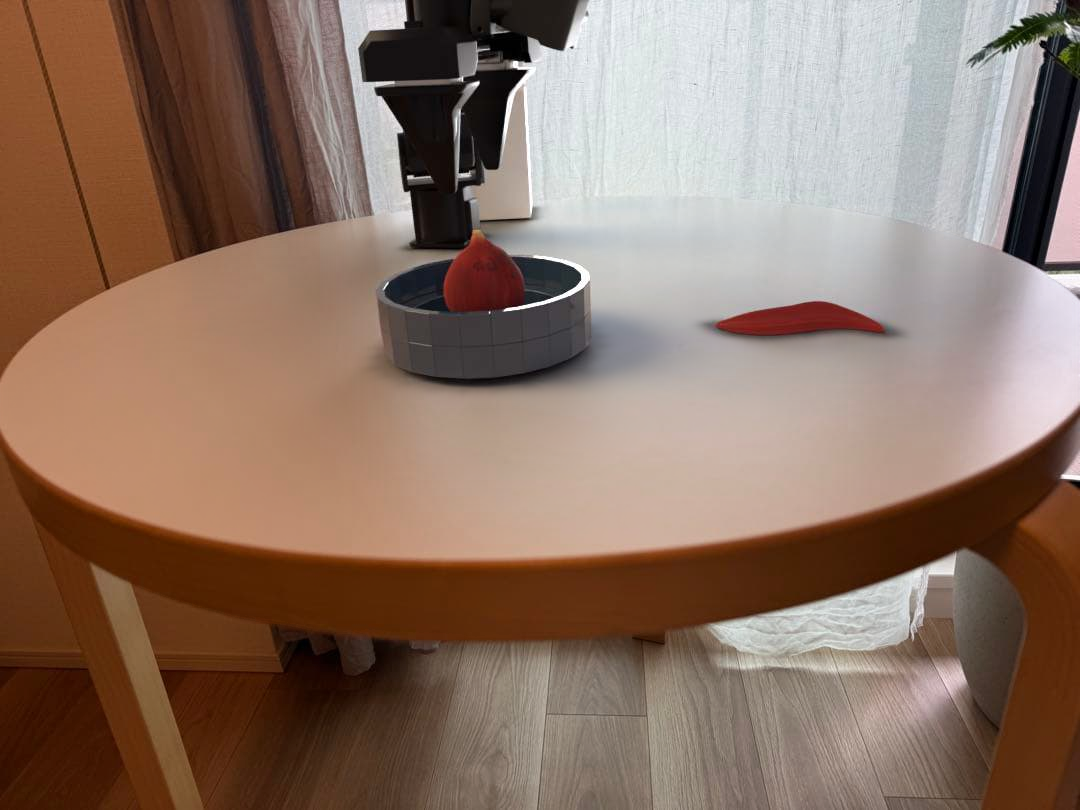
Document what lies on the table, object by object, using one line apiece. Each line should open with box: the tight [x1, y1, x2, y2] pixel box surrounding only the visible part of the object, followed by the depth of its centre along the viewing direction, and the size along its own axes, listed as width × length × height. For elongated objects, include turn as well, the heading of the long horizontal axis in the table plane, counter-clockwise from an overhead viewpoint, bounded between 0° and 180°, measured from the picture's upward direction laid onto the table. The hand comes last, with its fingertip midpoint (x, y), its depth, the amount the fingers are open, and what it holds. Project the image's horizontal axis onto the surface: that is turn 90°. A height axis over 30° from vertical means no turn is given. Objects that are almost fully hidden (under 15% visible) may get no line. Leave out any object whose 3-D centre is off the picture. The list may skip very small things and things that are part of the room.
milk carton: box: [469, 61, 533, 221], centre depth 102 cm, size 7×7×19 cm
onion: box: [444, 229, 525, 312], centre depth 59 cm, size 6×6×8 cm
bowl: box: [374, 254, 592, 380], centre depth 60 cm, size 15×15×5 cm
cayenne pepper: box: [715, 300, 886, 336], centre depth 61 cm, size 12×5×2 cm, turn 69°
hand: (472, 180), depth 59 cm, fingers open, 9 cm apart
